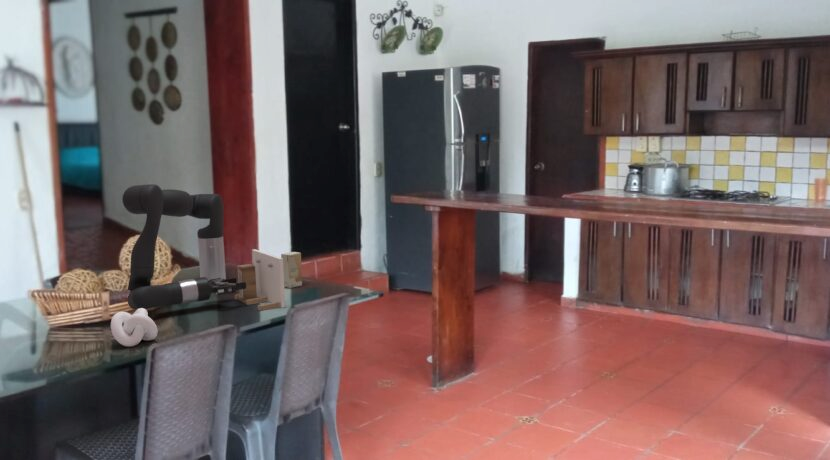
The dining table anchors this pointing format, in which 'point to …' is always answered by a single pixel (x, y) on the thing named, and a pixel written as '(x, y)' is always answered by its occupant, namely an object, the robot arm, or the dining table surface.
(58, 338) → the dining table surface
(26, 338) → the dining table surface
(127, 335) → the white knot sculpture
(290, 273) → the skincare box
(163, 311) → the dining table surface
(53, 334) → the dining table surface
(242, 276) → the frame block
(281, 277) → the white upright flat panel
